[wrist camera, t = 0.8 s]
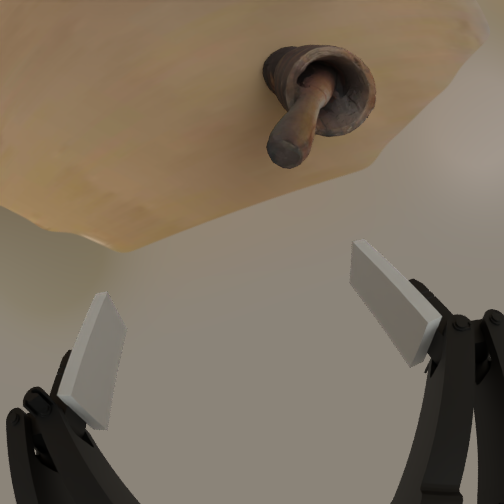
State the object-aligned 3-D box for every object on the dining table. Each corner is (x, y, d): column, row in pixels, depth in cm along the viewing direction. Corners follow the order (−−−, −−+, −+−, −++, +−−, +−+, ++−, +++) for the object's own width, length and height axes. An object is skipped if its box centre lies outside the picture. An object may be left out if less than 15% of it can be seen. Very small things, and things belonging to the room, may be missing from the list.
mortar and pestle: (275, 131, 35) (336, 219, 20) (225, 92, 30) (252, 151, 16) (334, 74, 30) (439, 123, 15) (288, 29, 25) (382, 29, 11)
